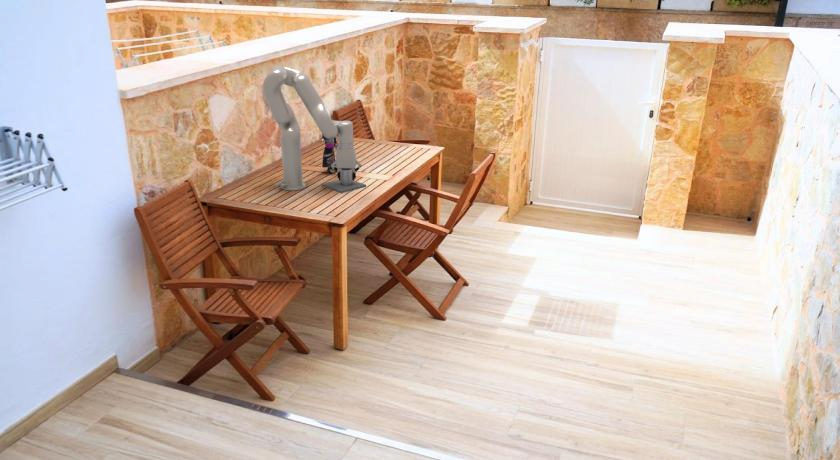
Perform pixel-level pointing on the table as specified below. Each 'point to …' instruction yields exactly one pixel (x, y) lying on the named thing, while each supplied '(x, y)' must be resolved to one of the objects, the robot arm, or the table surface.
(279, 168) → the table surface
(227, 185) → the table surface
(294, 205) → the table surface
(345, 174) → the duct sleeve
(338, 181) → the flange
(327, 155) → the figurine
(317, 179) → the table surface
